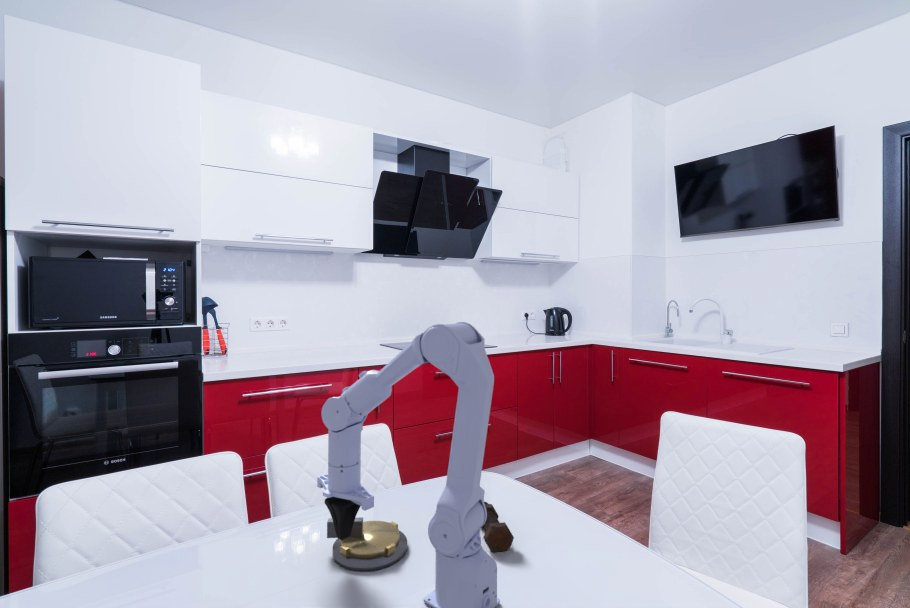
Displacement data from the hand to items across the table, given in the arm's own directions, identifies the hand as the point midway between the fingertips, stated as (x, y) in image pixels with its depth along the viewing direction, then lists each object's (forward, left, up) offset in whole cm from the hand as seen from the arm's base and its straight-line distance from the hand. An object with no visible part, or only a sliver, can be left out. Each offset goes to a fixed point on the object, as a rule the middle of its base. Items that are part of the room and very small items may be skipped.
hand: (343, 536), depth 81 cm
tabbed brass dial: (0, -6, -3) cm, 7 cm away
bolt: (-13, -27, -5) cm, 30 cm away
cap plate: (0, -6, -5) cm, 8 cm away
